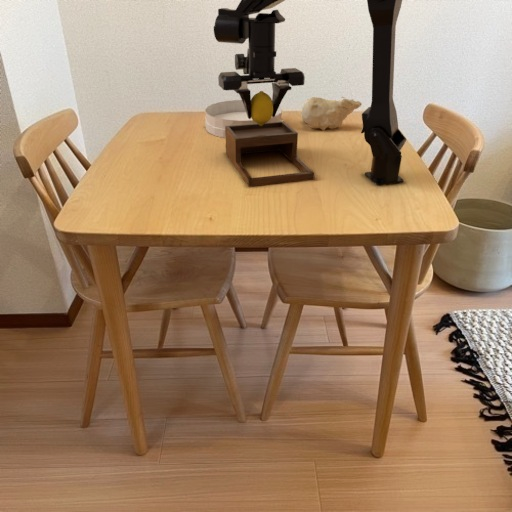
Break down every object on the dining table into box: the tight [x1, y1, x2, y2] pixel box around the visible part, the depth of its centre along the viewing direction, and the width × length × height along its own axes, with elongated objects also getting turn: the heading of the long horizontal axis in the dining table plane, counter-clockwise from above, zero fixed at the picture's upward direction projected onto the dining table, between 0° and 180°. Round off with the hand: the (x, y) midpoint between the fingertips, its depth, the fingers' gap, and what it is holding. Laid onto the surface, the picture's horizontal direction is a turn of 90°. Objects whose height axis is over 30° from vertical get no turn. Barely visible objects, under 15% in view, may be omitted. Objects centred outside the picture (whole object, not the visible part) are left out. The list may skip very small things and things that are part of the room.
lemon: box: [251, 90, 273, 126], centre depth 111 cm, size 6×6×8 cm
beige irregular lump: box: [300, 96, 363, 131], centre depth 136 cm, size 15×7×15 cm
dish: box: [204, 99, 283, 139], centre depth 137 cm, size 22×22×5 cm
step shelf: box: [225, 120, 315, 187], centre depth 111 cm, size 21×15×7 cm
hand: (261, 117), depth 112 cm, fingers closed on lemon, 5 cm apart
